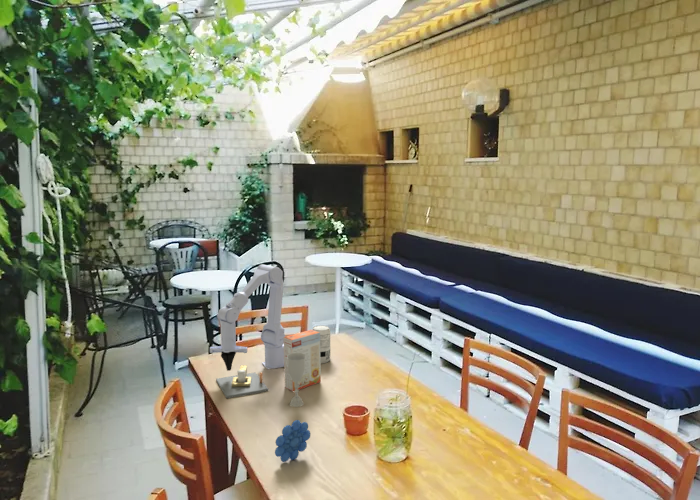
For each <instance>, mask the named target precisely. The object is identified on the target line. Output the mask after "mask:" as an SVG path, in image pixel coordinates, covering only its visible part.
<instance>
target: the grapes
mask: <svg viewBox="0 0 700 500" xmlns="http://www.w3.org/2000/svg"><path fill="white" fill-rule="evenodd" d="M308 429H309V424H308V422H307V421H303V422H301V420H299V419H295V420H293V422H292V423H291V425H290V424H287V425H285V426H283V428H282V430H281V433H282V435H279V436H277V437H276V439H275V445H276V448H275V450H274V454H275V456H276V457H278V458H279V457H280V458H279V459H280V461H281V462H282V463H286V462H287V461H289V460H291V461H294V460H297V458H299V455H300V453H302V452H304V451H305V450H306V449H307V447H308V443H307V441H308V440H309V439H310V438H311V431H310V430H308Z"/></svg>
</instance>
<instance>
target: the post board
mask: <svg viewBox="0 0 700 500" xmlns="http://www.w3.org/2000/svg"><path fill="white" fill-rule="evenodd" d="M258 374H259V375H258ZM258 374H257V373H256V372H249V373H248V372H247V376H246V377H251V378H252V379H251V384H250V386H239V387H232V381H233V377H238V381H236V383H245V382H247V380H246V377H245V370H237V375H230V376H225V377H224V376H223V377H217V378H215V380H216V383H217V385H218V387H219V388H220V389H221V392H222V394H223V396H225V398H226V399H232V398H237V397H242V396H243V397H244V396H249V395H253V394H259V393H265V392H269V388H268V386H267V385H266V384H265V383H264V381H263V380H264V379H263V378H264V377H263V375H264V374H263V372H259V373H258Z"/></svg>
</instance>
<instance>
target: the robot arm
mask: <svg viewBox="0 0 700 500" xmlns="http://www.w3.org/2000/svg"><path fill="white" fill-rule="evenodd" d="M283 276H284V271H283V270H282V269H281V268H280V267H278V266H272V265H267V264H264V263H263V264H259V265H258V266H257V268H256V269H255V270H254V273H253V276H252V277H251V279H250V280H249V281H248V282H247V284H246V285H245V287H244V288H243V289H242V290H241V291H238V292H236V293H234V294H233V297H232V298H231V299H230V300H229V301H228V302H227V303H226V305H225V306H222V307H221V308H220V309H218V312H217V314H216V317H217V319H218V320H219V324H220V345H219V346H218V345H217V346H216V345H215V346H210V347H209V353H210V354H213V353H221V354H220V357H221V358H222V360H223V362H224V364H225V368H226V371H227V372H230V371H232V366H233V365H232V364H233V361H234V359H235V357H236V354H237V353H238V354H239V353H244V354H247V353H248V346H241V345H237V342H236V340H237V336H236V335H237V331H236V330H237V329H236V328H237V327H236V321H238V319H239V315H240V313H241V311H242V310H243V308H244V307H245V306H246V305H247V303H249V297H250V296H251V295H252V294H253V293H254V292H255V291H256V290H257V289H258V288H259V287H260V285H262V284H267V285H268V286H269V299H268V309H267V310H268V311H267V323H266V324H264V325H263V327H262V331H261V334H260V339H261V341H262V343H263V345H264V361H262V362H261V364H262V365H263V367H265V369H266V370H272V369H273V370H274V369H277V368H284V337H285V336H286V334H285V328H284V326H282V324H281V320H282V308H283V307H282V305H283V293H284V280H283V279H284V278H283Z"/></svg>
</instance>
